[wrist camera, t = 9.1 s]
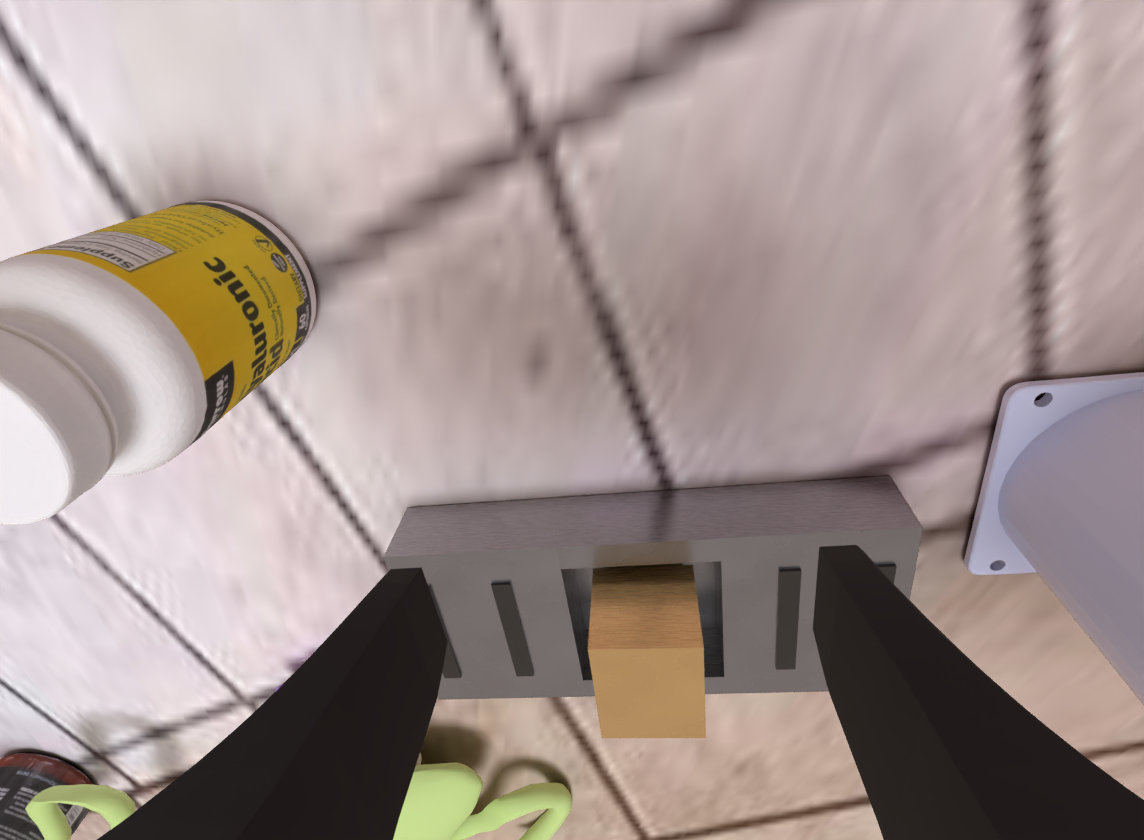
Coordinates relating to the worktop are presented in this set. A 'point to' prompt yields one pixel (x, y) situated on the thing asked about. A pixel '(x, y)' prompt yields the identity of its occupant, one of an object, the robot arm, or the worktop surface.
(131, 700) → the worktop surface
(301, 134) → the worktop surface
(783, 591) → the grey slotted block
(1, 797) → the supplement bottle
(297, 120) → the worktop surface
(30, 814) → the figurine
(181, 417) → the supplement bottle
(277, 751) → the robot arm
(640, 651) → the wooden stepped block
